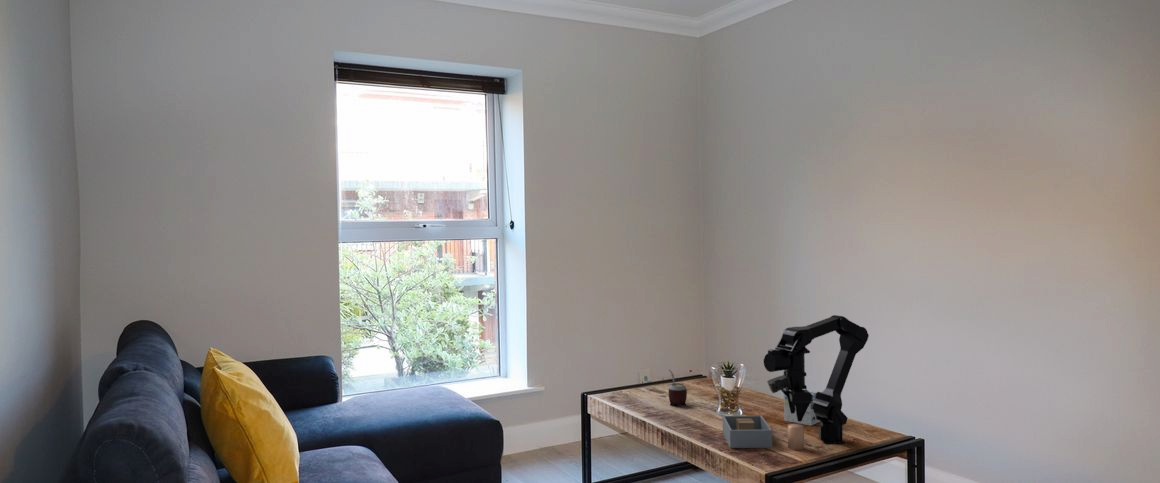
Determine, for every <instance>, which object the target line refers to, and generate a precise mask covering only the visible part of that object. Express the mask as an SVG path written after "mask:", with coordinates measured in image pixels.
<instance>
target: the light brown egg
mask: <svg viewBox="0 0 1160 483" xmlns="http://www.w3.org/2000/svg"><path fill="white" fill-rule="evenodd" d="M787 449H789V450H792V451H803V449H804V450H805V426H804V424H799V423H789V424H787Z"/></svg>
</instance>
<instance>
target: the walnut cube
mask: <svg viewBox="0 0 1160 483" xmlns="http://www.w3.org/2000/svg"><path fill="white" fill-rule="evenodd" d="M736 426H737V430H754V422H753V420H752V419H736Z"/></svg>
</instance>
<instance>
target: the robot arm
mask: <svg viewBox="0 0 1160 483" xmlns="http://www.w3.org/2000/svg"><path fill="white" fill-rule="evenodd" d="M833 332H835V333H837V334H838V335H839V339H838V340H839V341H838V342H839V348H840V349H839V352H838V354H837V358H836V360H835V363H834V366H833V369H832V371H831V374H830V376H829V379H828V382H827V383H826V387H825V389H824V390H823V391H816V392H817V393H816V396H815V399H814V401H813V395H812V394H811V393H810V392H809V391H810V390H808V388H807V385H806V377H807V372H806V370H805V354H811V350H809V349H808V348H807V346H808V345H809V344H811V343H812V341H813V340H814V339H816V338H819V337H822V336H825V335H827V334H831V333H833ZM869 336H870V335H869V333H868V330H867V328H866V327H864V326H860V325H858V324H857V323H854V322H853V321H851V320H849V319H848V318H847V317H845V316H843V315H837V314H836V315H835V314H834V315H831V316H829V317H828V318H827V317H826V318H824V319H822V320H819V321H816V322H813V323H811V324H808V325H805V326H804V325H803V326H791V327H787V328H784V329H783V332H782V335H781V337H780V338H779V340H778V342H777V343H776V346H775V348H774V349H770V348H769V349H768V350H767V353H766V354H765V355H764V357H763V365H764V368H765V370H766V371H767V372H769V373H775V372H779V371H783V375H779V376H776V377H772V378H771V379H768V380H767V384H768V387H769V390H770V391H771V393H772V394H775V393H778V392H779V391H781V392H782V393H783V395H784V394H785V395H786V396H787V400H788V404H789V408H790V412H791V413H795V410H796V415H797V420H798V421H802V419H803V417H804V414H805V412H806V410H807V408H808V406H809V405H810V403H811V401H813V402H812V403H814V404H813V410H814V413H815V415H816V419H817V420H820V422H819V423H820V424H819V425H818V439H819V440H821V442H822V443H823V444H845V441H844V439H843V426H844V425H846V424H847V422H848V417H847V415H846V414H845V413H844V412H843V411H842V408H843V407H842V406H843V400H842V392H843V390H844V387H845V386H846V385H845V384H846V382H847V379H848V376H849V373H850V370H851V368H852V365H853V362H854V360H855V357H856V355H857V354H858V353H859V352H861V350H863V349H864V348H865V346H866V343H867V342H868V340H869V338H870V337H869Z"/></svg>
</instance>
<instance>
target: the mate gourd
mask: <svg viewBox="0 0 1160 483" xmlns="http://www.w3.org/2000/svg"><path fill="white" fill-rule="evenodd" d="M668 371H669V372H670V374H671V377H672V378H671V379H672V382H673V383H672V384H670V385H669V387H668V400H669V406H673V407H674V406H677V407H678V408H680V407H681V406H686V405H687V404H686V400H687V399H688V398H687V396H688V390H687V386H685V385H686V384H683V383H677V382H676V383H675V377H674V376H675V375H674V372H673V371H672V370H671V369H668Z"/></svg>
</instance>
